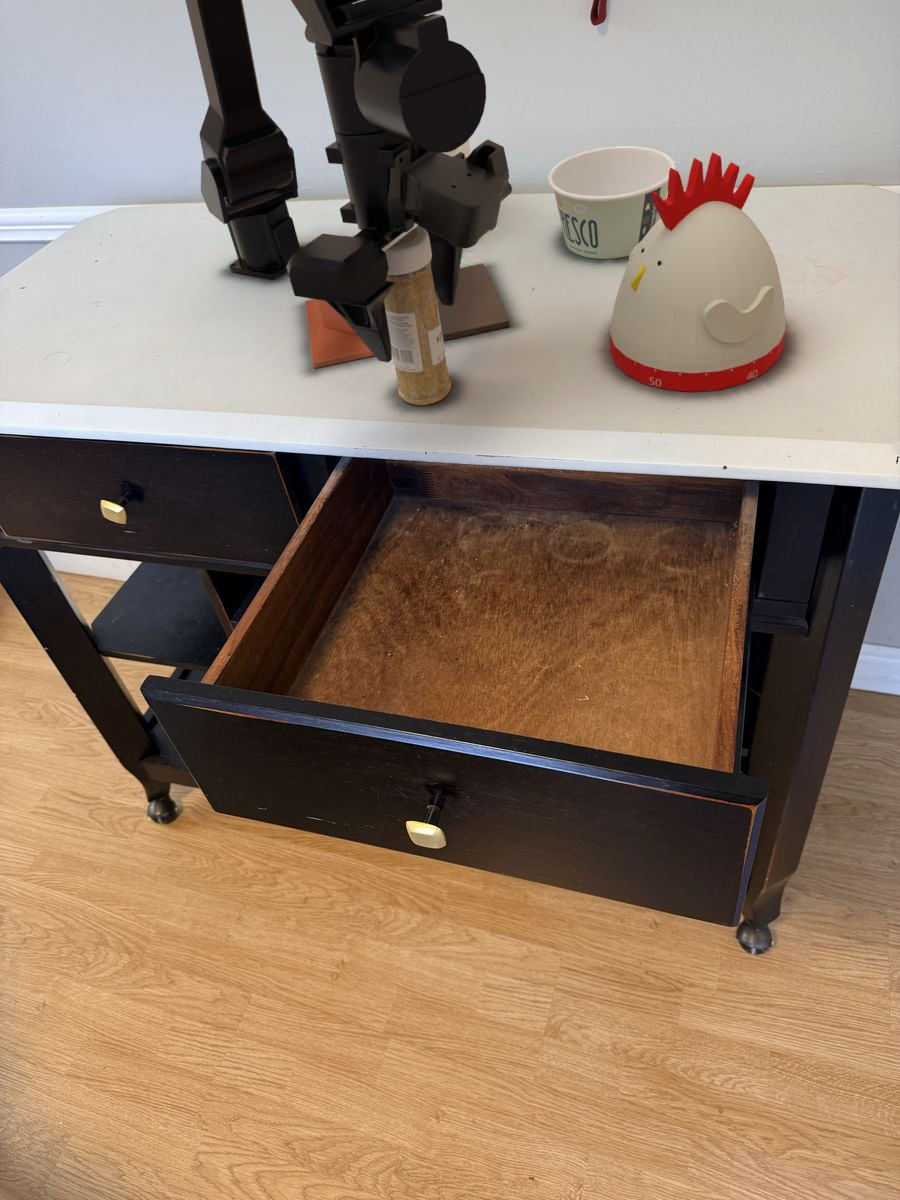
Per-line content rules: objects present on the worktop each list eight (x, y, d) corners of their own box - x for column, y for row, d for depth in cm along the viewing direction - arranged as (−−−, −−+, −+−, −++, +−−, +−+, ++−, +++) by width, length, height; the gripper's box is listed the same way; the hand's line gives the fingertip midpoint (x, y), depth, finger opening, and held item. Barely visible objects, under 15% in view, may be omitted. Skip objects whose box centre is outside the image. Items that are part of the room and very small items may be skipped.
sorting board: (314, 368, 81) (312, 362, 80) (306, 306, 89) (304, 300, 89) (510, 326, 81) (509, 320, 81) (484, 268, 90) (483, 262, 89)
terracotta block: (323, 327, 85) (312, 283, 81) (351, 304, 87) (340, 261, 84) (360, 335, 83) (350, 290, 79) (388, 312, 85) (379, 267, 82)
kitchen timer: (582, 332, 79) (576, 153, 68) (721, 286, 81) (736, 106, 70) (663, 411, 69) (671, 217, 59) (818, 357, 71) (853, 161, 61)
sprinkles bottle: (462, 392, 75) (440, 234, 65) (416, 414, 74) (386, 257, 64) (433, 369, 78) (408, 216, 68) (388, 391, 77) (356, 237, 67)
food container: (696, 223, 90) (700, 155, 85) (628, 276, 85) (628, 206, 80) (596, 202, 96) (595, 138, 92) (527, 250, 91) (522, 184, 86)
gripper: (393, 182, 52) (439, 413, 63) (546, 74, 62) (562, 289, 73) (251, 172, 57) (316, 387, 68) (414, 74, 67) (447, 274, 78)
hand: (417, 332), depth 71 cm, fingers open, 9 cm apart
